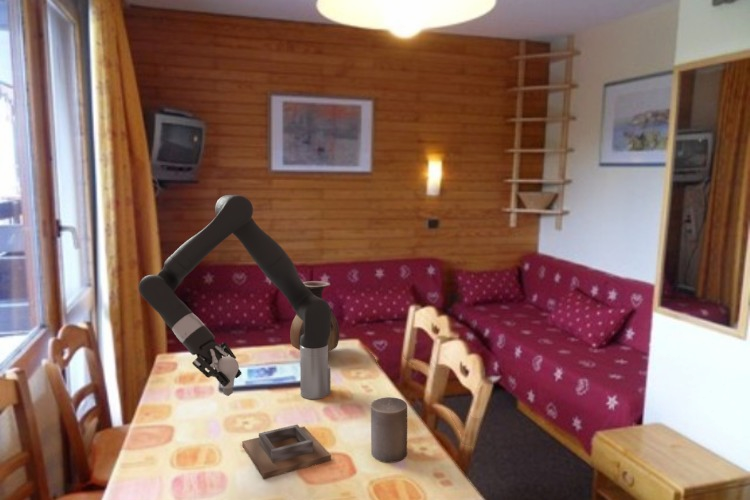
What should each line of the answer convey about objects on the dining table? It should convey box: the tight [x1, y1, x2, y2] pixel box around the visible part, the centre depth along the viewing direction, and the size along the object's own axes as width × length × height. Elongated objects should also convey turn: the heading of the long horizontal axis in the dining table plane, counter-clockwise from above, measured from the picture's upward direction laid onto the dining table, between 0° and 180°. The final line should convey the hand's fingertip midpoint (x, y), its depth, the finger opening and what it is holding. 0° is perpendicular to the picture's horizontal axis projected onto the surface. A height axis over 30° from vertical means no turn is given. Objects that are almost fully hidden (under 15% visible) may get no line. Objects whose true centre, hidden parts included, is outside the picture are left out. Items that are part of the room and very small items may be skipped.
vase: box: [289, 280, 340, 352], centre depth 217 cm, size 23×19×30 cm
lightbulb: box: [218, 355, 240, 397], centre depth 148 cm, size 6×6×11 cm
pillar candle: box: [370, 396, 408, 463], centre depth 144 cm, size 10×10×15 cm
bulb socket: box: [241, 424, 332, 480], centre depth 144 cm, size 18×18×4 cm
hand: (233, 379), depth 148 cm, fingers closed on lightbulb, 5 cm apart
